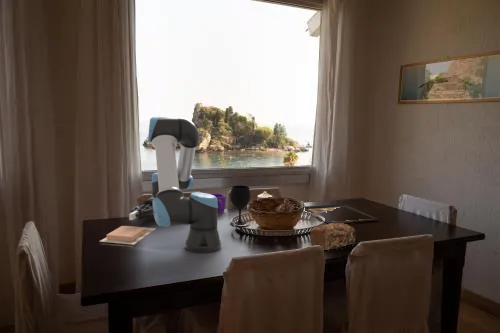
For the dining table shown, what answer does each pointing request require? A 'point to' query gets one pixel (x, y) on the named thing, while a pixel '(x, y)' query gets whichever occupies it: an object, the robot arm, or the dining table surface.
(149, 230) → the board
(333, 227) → the bread
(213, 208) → the robot arm
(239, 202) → the wine glass
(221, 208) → the mug
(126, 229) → the tile
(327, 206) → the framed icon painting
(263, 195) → the teacup with lid
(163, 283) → the dining table surface
